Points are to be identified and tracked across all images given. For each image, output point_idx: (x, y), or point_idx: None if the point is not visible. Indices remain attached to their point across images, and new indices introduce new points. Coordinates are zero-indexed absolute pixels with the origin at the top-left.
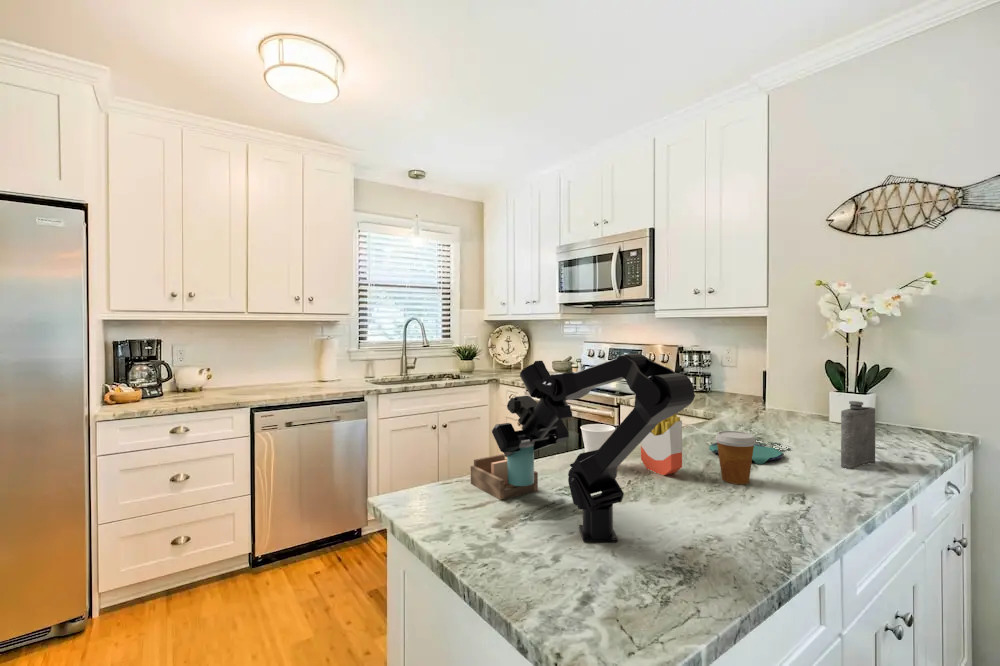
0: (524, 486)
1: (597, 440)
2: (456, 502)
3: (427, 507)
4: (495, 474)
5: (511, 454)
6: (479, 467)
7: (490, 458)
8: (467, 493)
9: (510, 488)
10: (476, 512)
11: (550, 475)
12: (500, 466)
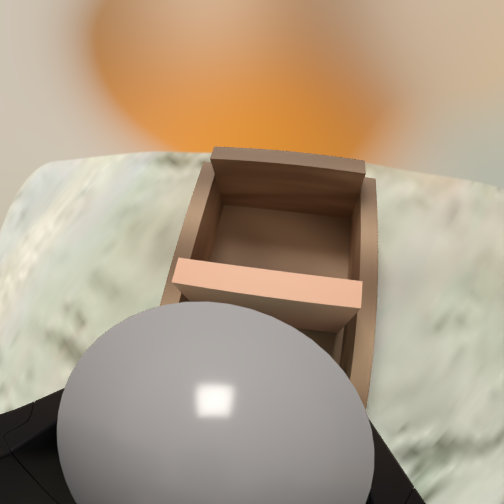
0: None
1: None
2: (80, 295)
3: (33, 269)
4: (197, 300)
5: None
6: (232, 180)
7: (286, 166)
8: (145, 261)
9: None
10: None
11: (479, 315)
12: (217, 296)
